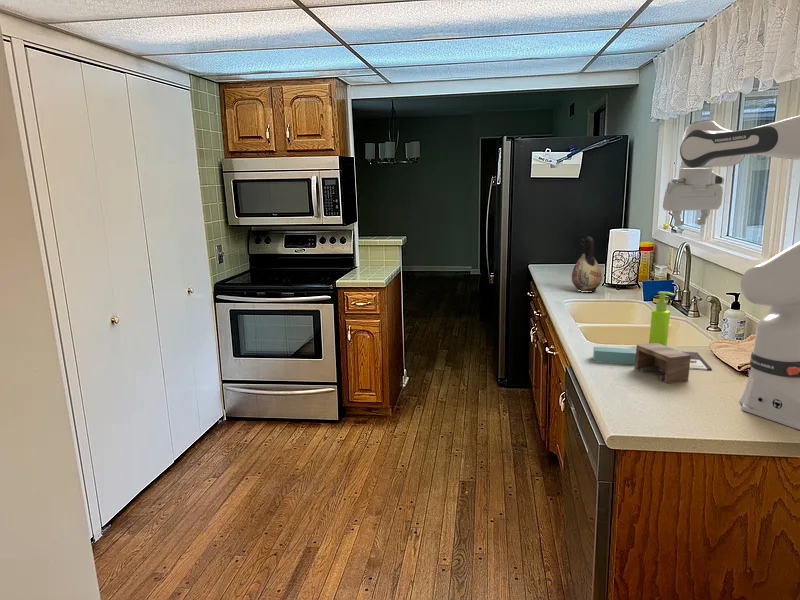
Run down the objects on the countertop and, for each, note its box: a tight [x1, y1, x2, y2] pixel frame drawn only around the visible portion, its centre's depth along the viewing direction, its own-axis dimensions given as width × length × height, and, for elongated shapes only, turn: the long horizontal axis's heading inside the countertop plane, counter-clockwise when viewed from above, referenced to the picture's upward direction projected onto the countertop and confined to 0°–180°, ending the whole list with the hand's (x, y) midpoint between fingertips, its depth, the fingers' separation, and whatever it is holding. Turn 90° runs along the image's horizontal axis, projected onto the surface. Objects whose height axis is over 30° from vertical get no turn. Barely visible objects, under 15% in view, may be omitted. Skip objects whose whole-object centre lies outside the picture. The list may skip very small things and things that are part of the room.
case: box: [592, 346, 636, 365], centre depth 191 cm, size 14×5×4 cm, turn 76°
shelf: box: [634, 342, 691, 384], centre depth 176 cm, size 14×8×8 cm, turn 18°
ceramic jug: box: [571, 236, 603, 292], centre depth 302 cm, size 17×15×30 cm
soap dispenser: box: [648, 291, 676, 347], centre depth 205 cm, size 6×7×20 cm
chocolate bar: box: [681, 351, 713, 371], centre depth 190 cm, size 9×1×18 cm
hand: (689, 225), depth 172 cm, fingers open, 8 cm apart
